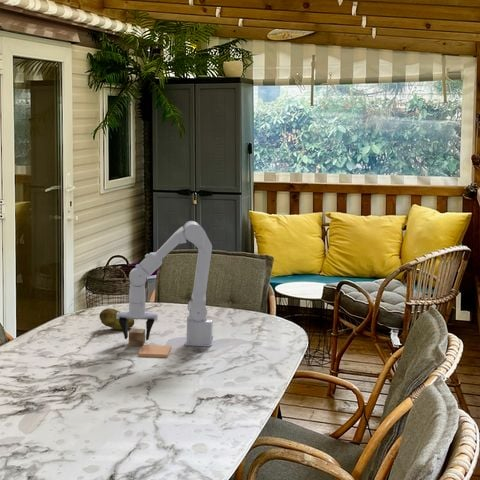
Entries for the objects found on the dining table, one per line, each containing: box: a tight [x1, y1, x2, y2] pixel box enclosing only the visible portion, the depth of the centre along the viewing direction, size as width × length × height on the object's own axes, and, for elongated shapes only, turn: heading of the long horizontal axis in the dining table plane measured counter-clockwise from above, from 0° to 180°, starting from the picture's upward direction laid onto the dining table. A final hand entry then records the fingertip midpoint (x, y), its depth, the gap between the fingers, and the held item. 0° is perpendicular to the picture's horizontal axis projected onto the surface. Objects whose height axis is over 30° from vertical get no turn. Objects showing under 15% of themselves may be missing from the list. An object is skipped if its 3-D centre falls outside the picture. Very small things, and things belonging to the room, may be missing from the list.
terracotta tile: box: [137, 344, 172, 358], centre depth 258 cm, size 10×10×1 cm
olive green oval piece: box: [98, 308, 135, 331], centre depth 284 cm, size 8×13×8 cm, turn 90°
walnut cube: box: [128, 328, 146, 347], centre depth 266 cm, size 5×5×5 cm
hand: (136, 338), depth 266 cm, fingers open, 7 cm apart
